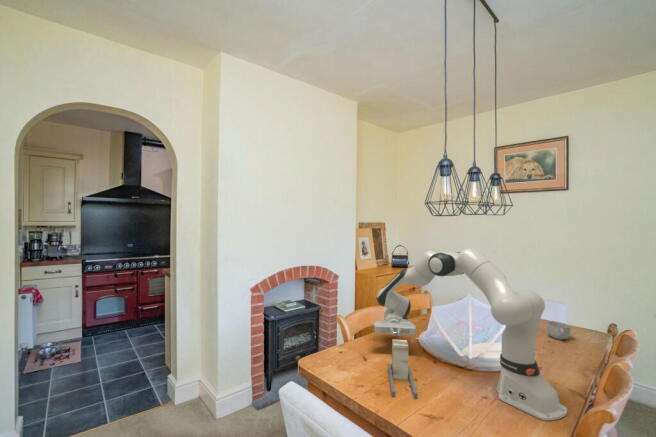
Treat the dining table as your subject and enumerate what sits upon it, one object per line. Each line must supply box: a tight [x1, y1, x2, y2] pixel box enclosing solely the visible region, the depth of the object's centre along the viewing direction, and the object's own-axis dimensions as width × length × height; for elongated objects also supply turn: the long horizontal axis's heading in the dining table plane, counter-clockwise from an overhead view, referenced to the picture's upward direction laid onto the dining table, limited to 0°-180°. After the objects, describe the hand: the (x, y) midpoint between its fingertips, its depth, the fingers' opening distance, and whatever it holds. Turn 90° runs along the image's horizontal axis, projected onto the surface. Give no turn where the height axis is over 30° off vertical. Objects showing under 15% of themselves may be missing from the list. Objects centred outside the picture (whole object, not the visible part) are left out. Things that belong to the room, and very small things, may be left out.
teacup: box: [546, 320, 572, 341], centre depth 176 cm, size 14×11×8 cm
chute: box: [387, 363, 418, 400], centre depth 127 cm, size 22×10×3 cm, turn 173°
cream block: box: [391, 338, 409, 381], centre depth 132 cm, size 6×6×14 cm
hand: (395, 334), depth 148 cm, fingers closed
